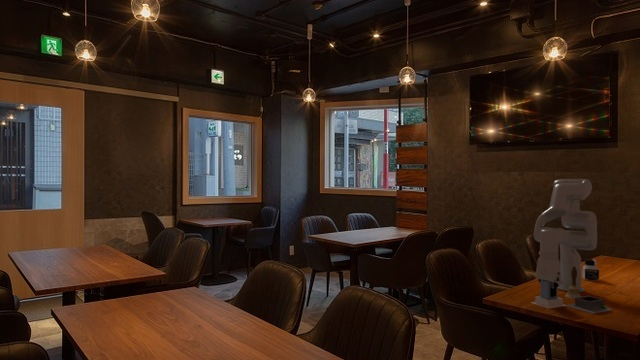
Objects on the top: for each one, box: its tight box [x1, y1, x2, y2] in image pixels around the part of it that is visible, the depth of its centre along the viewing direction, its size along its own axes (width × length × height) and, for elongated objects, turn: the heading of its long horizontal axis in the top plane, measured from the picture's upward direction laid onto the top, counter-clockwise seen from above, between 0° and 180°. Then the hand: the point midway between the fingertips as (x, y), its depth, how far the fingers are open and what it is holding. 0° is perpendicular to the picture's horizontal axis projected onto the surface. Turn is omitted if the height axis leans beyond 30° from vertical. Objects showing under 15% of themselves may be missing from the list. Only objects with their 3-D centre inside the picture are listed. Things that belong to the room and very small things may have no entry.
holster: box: [530, 295, 568, 309], centre depth 200 cm, size 10×12×4 cm
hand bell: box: [564, 267, 582, 300], centre depth 212 cm, size 8×8×16 cm
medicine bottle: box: [582, 258, 600, 282], centre depth 253 cm, size 7×7×12 cm
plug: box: [540, 280, 558, 300], centre depth 200 cm, size 4×6×12 cm, turn 113°
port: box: [567, 295, 612, 314], centre depth 193 cm, size 12×12×5 cm
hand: (548, 294), depth 200 cm, fingers closed on plug, 4 cm apart
